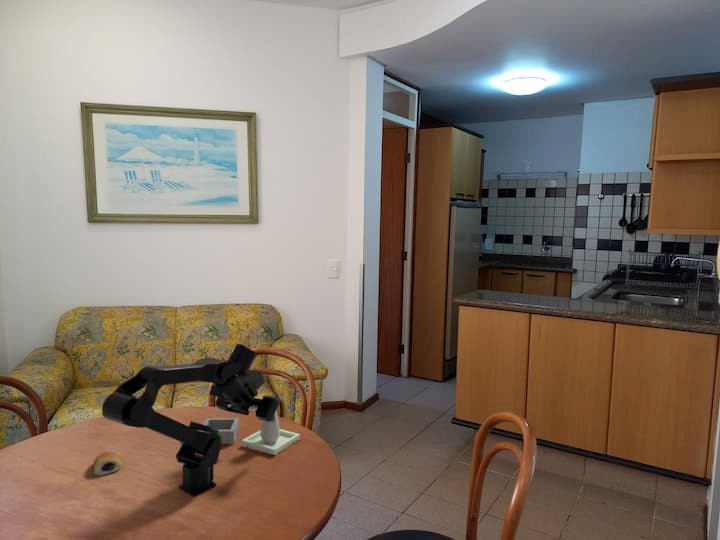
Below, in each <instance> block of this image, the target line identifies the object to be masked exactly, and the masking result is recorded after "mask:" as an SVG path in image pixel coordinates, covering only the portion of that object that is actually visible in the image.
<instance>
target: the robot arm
mask: <svg viewBox="0 0 720 540" xmlns="http://www.w3.org/2000/svg"><path fill="white" fill-rule="evenodd" d="M256 358H257V353H256V351H255V350H252V349H251V348H248V347H247V346H245V345H244V344H241V343H237V344H235V346H234V349H233V351H232V353H231V354H230V355H229V358H228V359H220V358H216V357H215V358H213V357H209V356H207V357H203V358H200V359H197V360H196V361H195V362H193V363H182V364H172V365H171V364H170V365H160V366H151V365H147V366H144V367H141V368H140V370H139V371H138V372H137V373H136V375H134V376H133V377H130V378H129V379H127V380H126V381H124V382H123V383H120V385H119V386H118V387H117V388H116V389H114V391H113V392H112V393H110V394H109V395H108V396H107V397H106V399H104V402H103V403H102V406H101V412H102V414H101V415H102V417H103V418H104V419H106V420H108V421H110V422H111V421H112V422H115V423H118V424H121V425H124V426H127V427H134V428H139V429H140V428H142V429H143V428H145V429H147V430H150V431H152V432H155V433H157V434H159V435H162V436H165V437H168V438H170V439H172V440H173V441H177V442H179V443H180V445H181V446H180V448H179V450H178V451H177V453H176V455H175V457H176V461H177V463H178V464H182V483H181V484H179V485H178V489H180V490H181V491H183V492H185V493H186V494H189V496H192V497H196V496H199V495H201V494H203V493H205V492H207V491H209V490H210V489H213V488H214V487H216V486H217V483H216V482H215V481H214V466H215V465H216V464H217V463H218V462H219V461H218V460H219V457H220V456H219V455H220V452H221V448H222V445H221V436H220V435H219V434H217V433H218V432H219V431H218V430H215V429H212V428H210V427H209V426H206V425H203V423H199V422H196V421H192V420H191V421H189V425H186V424H184V423H182V422H180V421H177V420H175V419H173V418H171V417H169V416H166V415H164V414H162V413H160V412H157V411H156V410H155V409H154V408H153V406H154V405H155V403H156V400H157V398H158V393H159V391H160V390H161V389H162V387H164V386H169V385H176V384H178V385H179V384H185V383H191V382H192V383H194V382H205V383H210V384H212V385H211V386H210V390H209V395H210V396H213V397H217V398H216V400H215V407H217V408H218V409H219V410H223V411H225V412H229V413H234V414H239V415H242V416H249V414H250V410H249V409H251V407H253V408H256V410H255V417H256V418H257V419H258V420H259V421H268V422H274V420H275V417H274V414H275V412H276V410H277V409H278V408H279V406H280V404H281V402H280V400H279V399H278V397H276V396H272V395H268V394H266V395H264V396H262V398H257V396H258V394H259V391H258V390H259V389H260V388H261V386H263V385H264V384H265V383H266V379H265V376H264V373H263V372H262V371H260V370H256V369H251V367H252V365H253V363H254V362H255V360H256ZM142 389H144V392H143V393H142V394H141V395H140V396H135V394H136V393H138V392H139V391H141V390H142Z"/></svg>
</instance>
